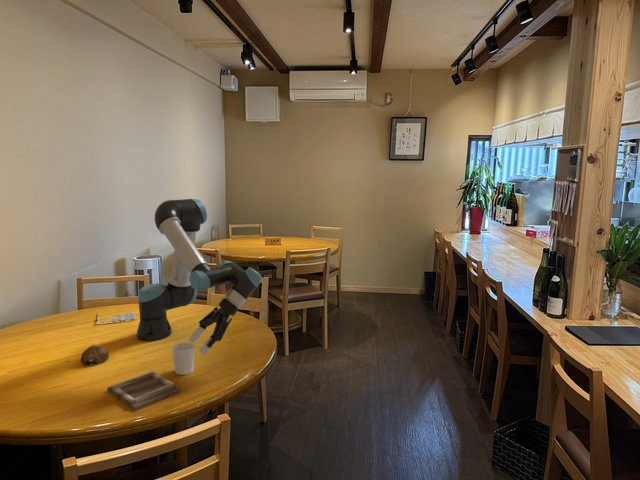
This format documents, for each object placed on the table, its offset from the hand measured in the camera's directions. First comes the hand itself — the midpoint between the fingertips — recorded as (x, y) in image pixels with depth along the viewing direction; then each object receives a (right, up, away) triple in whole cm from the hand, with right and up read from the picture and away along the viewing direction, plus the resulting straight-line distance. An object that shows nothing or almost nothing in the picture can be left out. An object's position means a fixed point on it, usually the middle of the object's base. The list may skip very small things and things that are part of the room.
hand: (196, 347), depth 169 cm
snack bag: (-59, 0, +63) cm, 86 cm away
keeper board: (-14, -12, -15) cm, 24 cm away
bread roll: (-43, -8, +10) cm, 45 cm away
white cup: (-4, -9, 0) cm, 10 cm away
